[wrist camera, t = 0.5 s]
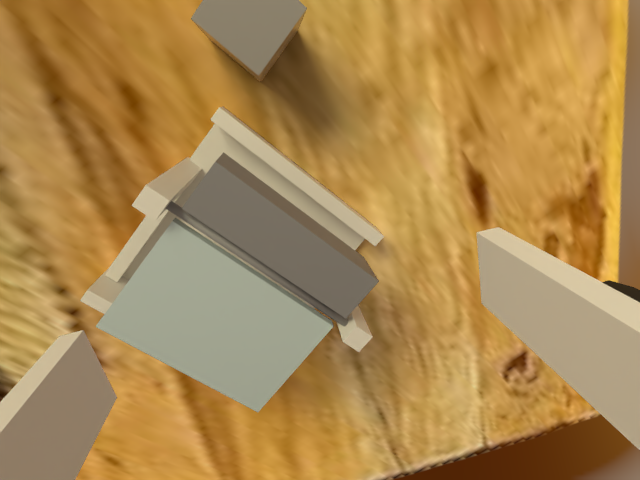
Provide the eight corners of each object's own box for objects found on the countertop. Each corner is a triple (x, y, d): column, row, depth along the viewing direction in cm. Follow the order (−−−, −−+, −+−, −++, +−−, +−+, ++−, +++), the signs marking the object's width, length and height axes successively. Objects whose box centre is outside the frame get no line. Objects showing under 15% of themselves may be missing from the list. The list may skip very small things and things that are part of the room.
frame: (98, 283, 36) (18, 368, 25) (223, 106, 33) (199, 108, 21) (252, 370, 42) (247, 474, 30) (375, 226, 38) (423, 281, 26)
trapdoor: (116, 298, 29) (91, 331, 25) (223, 152, 27) (215, 161, 23) (259, 378, 33) (257, 418, 29) (363, 256, 31) (378, 281, 26)
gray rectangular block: (209, 39, 31) (190, 18, 24) (246, -17, 30) (239, -56, 23) (260, 82, 33) (258, 75, 25) (297, 30, 32) (307, 8, 24)
